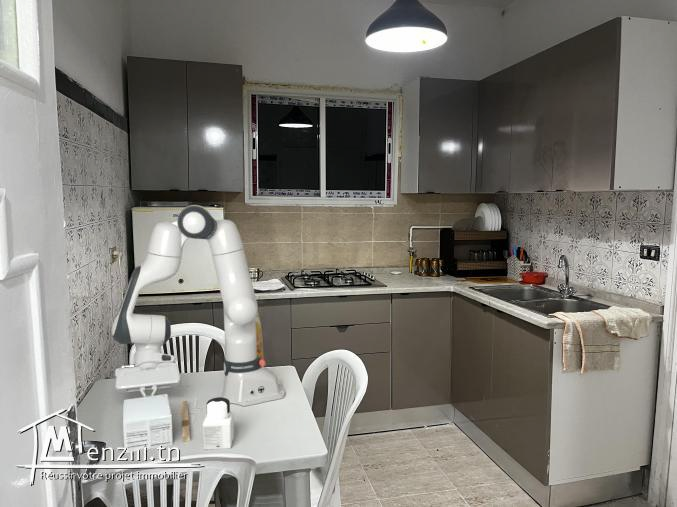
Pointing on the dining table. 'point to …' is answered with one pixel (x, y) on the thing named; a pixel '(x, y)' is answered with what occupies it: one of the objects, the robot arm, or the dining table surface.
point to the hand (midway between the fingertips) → (148, 401)
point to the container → (218, 424)
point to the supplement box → (147, 422)
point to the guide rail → (185, 421)
